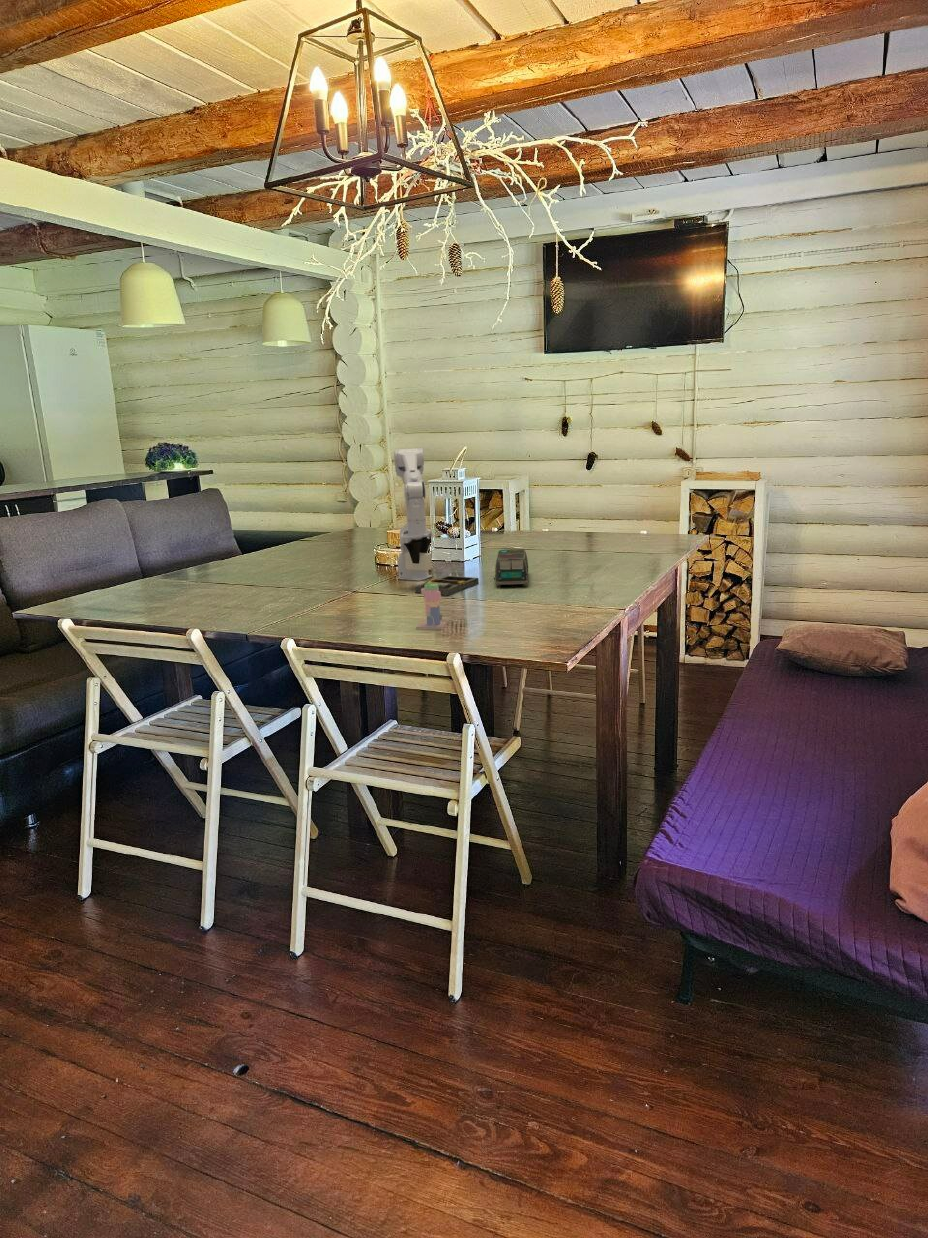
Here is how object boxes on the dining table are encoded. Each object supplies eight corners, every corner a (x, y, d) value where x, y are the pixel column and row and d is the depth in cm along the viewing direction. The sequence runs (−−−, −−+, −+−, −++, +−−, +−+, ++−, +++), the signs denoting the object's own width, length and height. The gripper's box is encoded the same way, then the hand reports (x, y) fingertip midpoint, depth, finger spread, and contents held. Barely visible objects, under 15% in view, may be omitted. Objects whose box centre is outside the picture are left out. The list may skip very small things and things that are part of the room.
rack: (415, 593, 265) (414, 584, 264) (447, 581, 281) (447, 573, 280) (447, 596, 259) (446, 587, 258) (478, 583, 274) (478, 575, 274)
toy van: (528, 573, 289) (527, 544, 287) (528, 588, 265) (527, 557, 263) (497, 574, 290) (496, 545, 288) (494, 589, 266) (493, 558, 264)
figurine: (446, 624, 225) (444, 579, 222) (441, 629, 220) (439, 584, 217) (421, 623, 227) (419, 579, 224) (416, 629, 221) (413, 584, 219)
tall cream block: (406, 568, 271) (405, 553, 270) (411, 567, 274) (410, 551, 273) (426, 570, 267) (425, 554, 266) (431, 568, 270) (431, 553, 268)
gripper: (413, 523, 259) (415, 566, 262) (439, 517, 270) (441, 559, 274) (394, 522, 262) (397, 565, 266) (421, 516, 274) (424, 557, 277)
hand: (418, 562), depth 270 cm, fingers closed on tall cream block, 3 cm apart
